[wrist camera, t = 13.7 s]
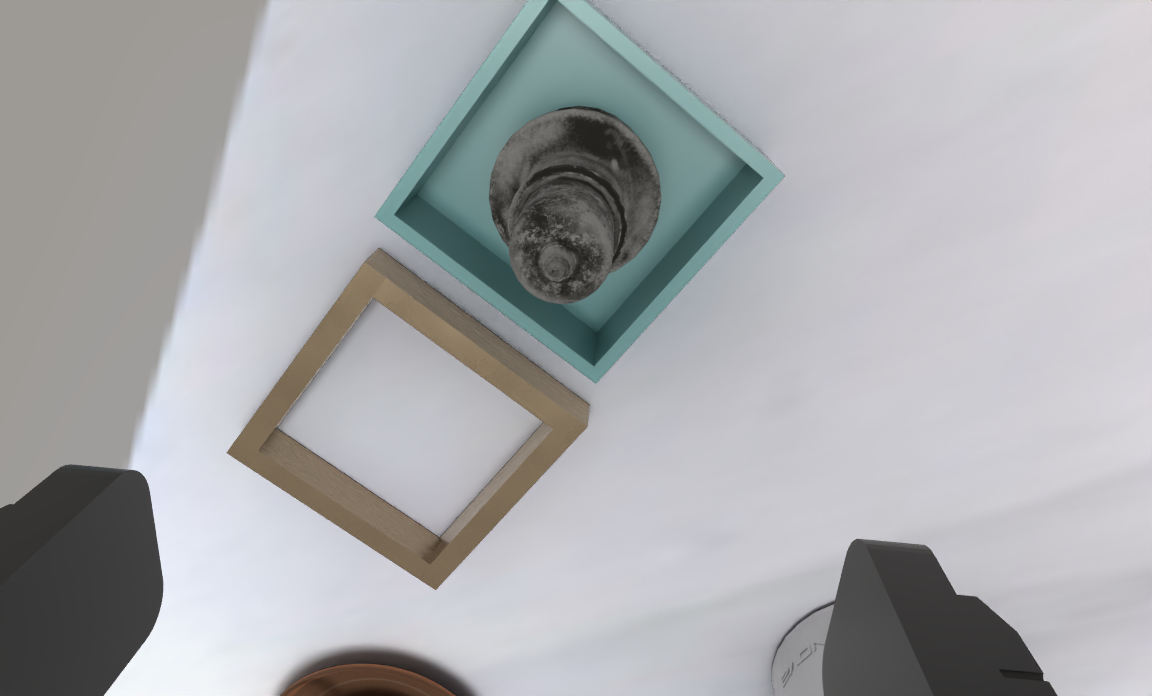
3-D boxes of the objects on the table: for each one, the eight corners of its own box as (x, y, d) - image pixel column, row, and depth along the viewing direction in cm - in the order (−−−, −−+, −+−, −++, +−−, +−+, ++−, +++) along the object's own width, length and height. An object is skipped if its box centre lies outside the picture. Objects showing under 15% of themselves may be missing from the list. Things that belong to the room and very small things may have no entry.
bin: (766, 155, 31) (785, 176, 27) (599, 343, 34) (596, 383, 31) (559, -25, 29) (549, -30, 25) (402, 193, 32) (374, 216, 29)
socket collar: (589, 404, 35) (587, 426, 34) (444, 562, 39) (435, 590, 37) (379, 247, 33) (364, 262, 31) (246, 430, 37) (226, 452, 35)
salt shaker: (528, 268, 33) (479, 403, 22) (482, 121, 30) (402, 188, 19) (673, 231, 32) (698, 353, 21) (636, 78, 30) (643, 121, 19)
